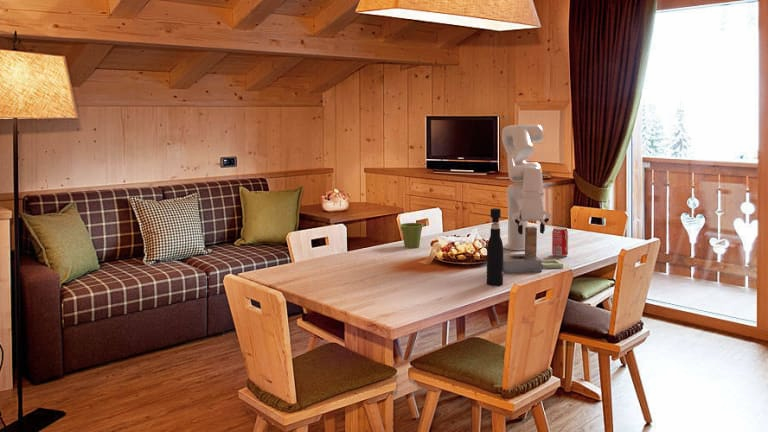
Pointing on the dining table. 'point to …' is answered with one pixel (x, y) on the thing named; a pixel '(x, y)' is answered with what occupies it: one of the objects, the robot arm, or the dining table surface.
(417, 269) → the dining table surface
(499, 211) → the wine bottle
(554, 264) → the holder tray
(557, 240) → the soda can
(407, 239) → the plant pot
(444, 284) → the dining table surface
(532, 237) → the walnut peg
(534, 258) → the block
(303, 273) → the dining table surface
